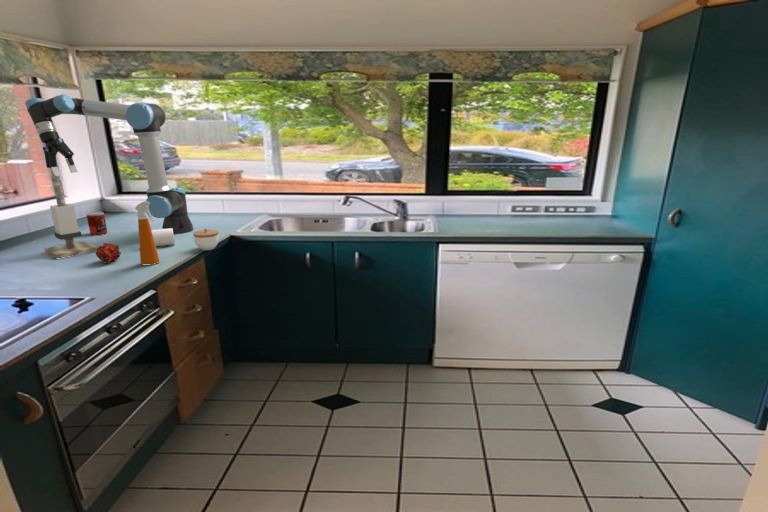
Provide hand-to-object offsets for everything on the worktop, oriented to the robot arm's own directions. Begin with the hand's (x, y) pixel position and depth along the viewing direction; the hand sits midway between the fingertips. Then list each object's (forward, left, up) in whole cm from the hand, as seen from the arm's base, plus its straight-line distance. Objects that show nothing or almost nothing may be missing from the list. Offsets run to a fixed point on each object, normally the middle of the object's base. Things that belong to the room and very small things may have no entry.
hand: (67, 176), depth 214 cm
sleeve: (-14, +20, -22) cm, 33 cm away
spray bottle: (-62, +30, -32) cm, 76 cm away
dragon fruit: (-42, +30, -32) cm, 60 cm away
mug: (-47, +2, -32) cm, 57 cm away
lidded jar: (-72, +5, -32) cm, 79 cm away
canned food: (0, -12, -32) cm, 34 cm away
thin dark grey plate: (-14, +20, -24) cm, 34 cm away
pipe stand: (-14, +20, -31) cm, 40 cm away
